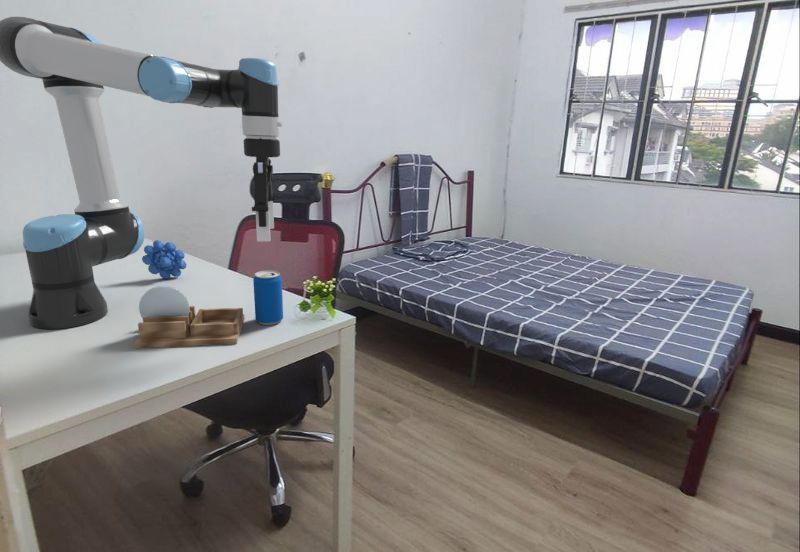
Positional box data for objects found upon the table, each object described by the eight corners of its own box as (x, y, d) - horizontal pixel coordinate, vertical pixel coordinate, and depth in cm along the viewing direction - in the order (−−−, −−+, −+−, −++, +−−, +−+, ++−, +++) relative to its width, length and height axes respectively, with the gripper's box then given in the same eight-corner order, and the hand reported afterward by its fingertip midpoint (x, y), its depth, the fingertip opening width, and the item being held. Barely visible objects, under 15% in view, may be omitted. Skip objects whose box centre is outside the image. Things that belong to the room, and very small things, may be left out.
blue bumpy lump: (145, 285, 133) (140, 244, 130) (144, 278, 139) (139, 239, 135) (189, 280, 139) (185, 241, 135) (186, 274, 144) (183, 236, 141)
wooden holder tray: (135, 348, 96) (132, 327, 95) (155, 321, 109) (153, 303, 108) (236, 343, 100) (235, 323, 99) (244, 318, 113) (243, 300, 112)
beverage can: (288, 319, 113) (287, 273, 110) (269, 328, 108) (267, 279, 105) (269, 314, 117) (267, 268, 113) (249, 322, 111) (246, 274, 108)
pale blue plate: (141, 330, 101) (136, 287, 98) (143, 329, 102) (137, 286, 99) (190, 329, 103) (186, 286, 100) (191, 327, 104) (187, 285, 101)
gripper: (276, 139, 89) (280, 247, 95) (281, 137, 112) (284, 223, 119) (235, 138, 87) (242, 247, 94) (249, 136, 111) (254, 223, 117)
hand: (266, 234), depth 106 cm, fingers open, 13 cm apart
